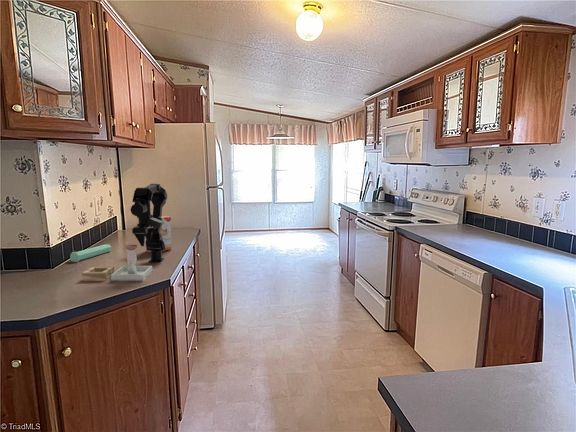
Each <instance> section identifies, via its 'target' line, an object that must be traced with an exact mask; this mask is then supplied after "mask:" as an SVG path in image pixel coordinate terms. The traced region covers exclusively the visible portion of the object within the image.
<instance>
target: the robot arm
mask: <svg viewBox="0 0 576 432" xmlns="http://www.w3.org/2000/svg"><path fill="white" fill-rule="evenodd" d="M167 199H168V193H167V191H166V188H164V187H162V186H161V184H159V183H150V184H148V185H146V186H144V187H136V188H135V190H134V193H133V196H132V203H134V204H132V206H131V207H130V213H131V214H132V215H133V216H135V217H136V218H137V219H138V223H137V224H136V226H134V227H132V228H131V233H132V234H133V235H134V237H135V239H137V242H138V243H139V245H140V246H141V247H144V246H145V249H146V248H147V251H148V250H150V251H151V253H150V259H149V260H148V262H149V263H162V261H163V260H165V258H164V257H163V255H162V254H163V252H164V251H163V250H165V243H164V241H163V237H162V235H161V233H160V228H161V227H162V224H163V220H162V218H161V216H163V207H164V206H165V204H166V203H167ZM151 203H152V205H153V207H152V209H151ZM151 211H152V214H151ZM145 237H146V239H147V240H146V241H145ZM147 251H146V252H147Z"/></svg>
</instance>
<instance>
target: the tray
mask: <svg viewBox="0 0 576 432" xmlns="http://www.w3.org/2000/svg"><path fill="white" fill-rule="evenodd" d="M151 274H153V265H137V274H128V265H122V266H121V267H119V268H118V269H117V270H115V271H114V273H113V274H111V277H110V282H144V281H145V280H146V279H147V278H148V277H149V276H150V275H151Z"/></svg>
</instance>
